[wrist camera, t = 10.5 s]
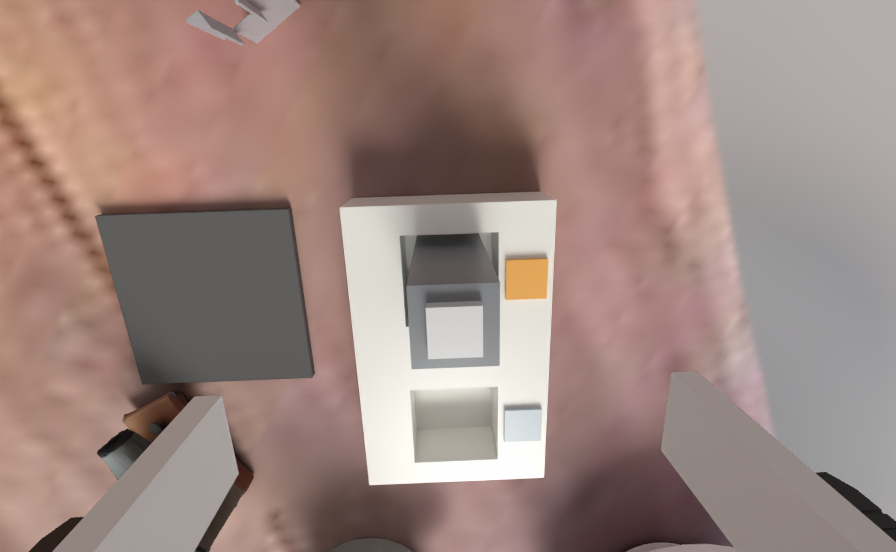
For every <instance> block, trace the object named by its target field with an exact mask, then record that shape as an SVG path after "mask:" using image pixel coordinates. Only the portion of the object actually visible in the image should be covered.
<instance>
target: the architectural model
mask: <svg viewBox="0 0 896 552" xmlns="http://www.w3.org/2000/svg"><path fill="white" fill-rule="evenodd" d="M234 1H235V3H236V4H237V5H239V6H240V7H242V8H243V9H245V10H246V11H248V12H249V13H250V14H249V15H248V16H247V17H246V18H245V19H243V20H242V21H241V22H240V23H239V24H238V25H237V26H236V27H234V28H233V29H232V28H230V27H228V26H226V25H224V24H222V23H221V22H219V21H217V20H215V19H213V18H211V17H209V16H207V15H206V14H204V13H202V12H200V11H198V10H197V11H196V12H194V13H193V14H192V15H191V16H190V17H189V18H188V19H187V20H186V22H187V23H188V24H190V25H192V26H194V27H197V28H199V29H201V30H203V31H205V32H207V33H210V34H212V35H214V36H216V37H218V38H220V39H223V40H226V39H229V40H231V41H233V42H235V43H237V44H240V45H242V46H243V45H244V43H243V42H242V40H241V39H240V38H239V37H238V35H237V34H236V33H238V34H240V35H242V36H244V37H246V38H248V39H250V40H252V41H253V42H255V43H259V42H260V41H261V40H262V39H263V38H264V37H265V36H267V35H268V34H269V33H270V32H271V31H272V30H274V29H275V28H276V27H277V26H278V25H279V24H280V23H282V22H283V21H284V20H285V19H286V18H287V17H288V16H290V15H291V14H292V13H293V12H294V11H295V10H297V9H298V8H299V7H300V4H299V3H298V1H297V0H234ZM235 32H236V33H235Z"/></svg>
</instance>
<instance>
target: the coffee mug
mask: <svg viewBox="0 0 896 552" xmlns="http://www.w3.org/2000/svg"><path fill="white" fill-rule="evenodd" d="M330 552H413V551H412V550H410V549H409V548H407V547H405V546H403V545H401V544H399V543H397V542H393V541H390V540H385V539H379V538H363V539H356V540H351V541H348V542H346V543H343V544H341V545H339V546H337V547H335V548H334V549H332V550H331V551H330Z"/></svg>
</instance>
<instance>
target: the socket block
mask: <svg viewBox="0 0 896 552" xmlns="http://www.w3.org/2000/svg"><path fill="white" fill-rule="evenodd" d="M556 203H557V200H556V199H554V198H552V197H550V196H548V195H546V194H544V193H542V192H512V193H483V194H454V195H425V196H395V197H366V198H352V199H351V200H349V201H348V202H347V203H345V204H344V205H342V206H341V207H339V208H340V217H341V227H342V236H343V245H344V254H345V264H346V273H347V282H348V292H349V301H350V310H351V319H352V329H353V338H354V347H355V357H356V366H357V375H358V384H359V394H360V403H361V412H362V422H363V431H364V440H365V450H366V459H367V468H368V477H369V485H385V484H408V483H431V482H455V481H478V480H501V479H524V478H544V466H545V444H546V423H547V401H548V379H549V357H550V335H551V313H552V291H553V269H554V247H555V225H556ZM476 233H479V235H480V238H481V240H482V242H483V245H484V247H485V249H486V251H487V254H488V256H489V258H490V261H491V263H492V265H493V267H494V270H495V272H496V274H497V277H498V279H499V281H500V366H483V367H458V368H433V369H412V368H411V352H410V337H409V321H408V305H407V290H406V285H407V280H408V275H409V271H410V266H411V261H412V256H413V252H414V247H415V242H416V237H417V236H420V235H448V234H476Z"/></svg>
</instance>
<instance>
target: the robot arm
mask: <svg viewBox="0 0 896 552" xmlns="http://www.w3.org/2000/svg"><path fill="white" fill-rule="evenodd" d="M661 451H662V452H663V454H664V455H665V456H666V458H667V459H668V460H669V462H670V463H671V464H672V466H673V467H674V468H675V470H676V471H677V472H678V474H679V475H680V476H681V478H682V479H683V480H684V482H685V483H686V484H687V486H688V487H689V488H690V490H691V491H692V492H693V494H694V495H695V496H696V498H697V499H698V500H699V502H700V503H701V504H702V506H703V507H704V508H705V510H706V511H707V512H708V514H709V515H710V516H711V518H712V519H713V520H714V522H715V523H716V524H717V526H718V527H719V528H720V530H721V531H722V532H723V534H724V535H725V536H726V538H727V539H728V540H729V542H730V543H731V544H732V546H733V547H734V548H735V550H736V551H737V552H896V521H895V520H893V519H892V518H891V517H890V516H888V515H887V514H883V513H882V511H881V509H880V508H879V507H877V506H876V505H875V504H874V503H872V502H871V501H870V500H869V499H868V498H866V497H865V496H864V495H863V494H861V493H860V492H859V491H858V490H856V489H855V488H853V487H851V486H850V485H848V484H846V483H844V482H842V481H841V480H839V479H837V478H835V477H834V476H832V475H830V474H828V473H827V472H820V473H815V472H814V471H813V470H811V469H810V468H809V467H808V466H807V465H806V464H804V463H803V462H802V461H801V460H800V459H798V458H797V457H796V456H795V455H794V454H793V453H791V452H790V451H789V450H788V449H787V448H785V446H783V445H782V444H781V443H780V442H779V441H778V440H776V439H775V438H774V437H773V436H772V435H771V434H769V433H768V432H767V431H766V430H765V429H764V428H762V427H761V426H760V425H759V424H758V423H757V422H755V421H754V420H753V419H752V418H751V417H750V416H748V415H747V414H746V413H745V412H744V411H743V410H741V409H740V408H739V407H738V406H737V405H736V404H734V403H733V402H732V401H731V400H730V399H729V398H727V397H726V396H725V395H724V394H723V393H722V392H721V391H719V390H718V389H717V388H716V387H715V386H714V385H712V384H711V383H710V382H709V381H708V380H707V379H705V378H704V377H703V376H702V375H701V374H700V373H698V372H697V371H691V372H672V373H671V380H670V387H669V394H668V401H667V408H666V415H665V422H664V429H663V437H662V444H661ZM238 474H239V472H238V468H237V463H236V458H235V454H234V449H233V445H232V440H231V435H230V431H229V426H228V422H227V417H226V412H225V408H224V403H223V398H222V395H214V396H195V397H194V398H193V399H192V400H191V401H190V402H189V403H188V404H187V405H186V406H185V408H184V409H183V410H182V411H181V412H180V413H179V414H178V415H177V416H176V417H175V418H174V420H173V421H172V422H171V423H170V424H169V425H168V426H167V427H166V428H165V429H164V430H163V432H162V433H161V434H160V435H159V436H158V437H157V438H156V439H155V440H154V441H153V442H152V444H151V445H150V446H149V447H148V448H147V449H146V450H145V451H144V452H143V453H142V454H141V456H140V457H139V458H138V459H137V460H136V461H135V462H134V463H133V464H132V465H131V466H130V468H129V469H128V470H127V471H126V472H125V473H124V474H123V475H122V476H121V477H120V478H119V480H118V481H117V482H116V483H115V484H114V485H113V486H112V487H111V488H110V489H109V490H108V492H107V493H106V494H105V495H104V496H103V497H102V498H101V499H100V500H99V501H98V502H97V503H96V505H95V506H94V507H93V508H92V509H91V510H90V511H89V512H88V513H87V514H86V515H85V517H75V518H70V519H69V520H67V521H66V522H65V523H63V524H62V525H60V526H59V527H58V528H56V529H55V530H53V531H52V532H51V533H49V534H48V535H46V536H45V537H44V538H42V539H41V540H40V541H39V542H38V543H37V544H36V545H35V546H34V547H33V548H32V549H31V550H30V551H29V552H194V551H195V549H196V548H197V546H198V544H199V542H200V541H201V539H202V537H203V535H204V534H205V532H206V530H207V528H208V527H209V525H210V523H211V521H212V520H213V518H214V516H215V514H216V513H217V511H218V509H219V507H220V506H221V504H222V502H223V500H224V499H225V497H226V495H227V493H228V492H229V490H230V488H231V486H232V485H233V483H234V481H235V479H236V478H237V476H238Z"/></svg>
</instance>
